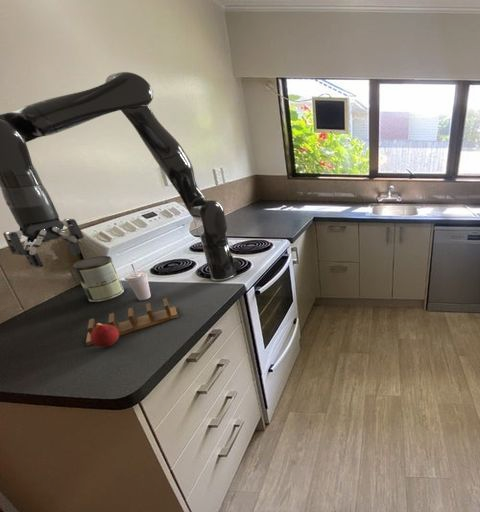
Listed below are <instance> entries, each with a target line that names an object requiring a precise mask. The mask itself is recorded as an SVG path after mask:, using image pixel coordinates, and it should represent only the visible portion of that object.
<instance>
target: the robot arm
mask: <svg viewBox="0 0 480 512" xmlns="http://www.w3.org/2000/svg"><path fill="white" fill-rule="evenodd" d="M153 99H154V91H153V88H152V86H151V84H150V83H149V81H147V80H146V79H145V78H144V77H142V76H141V75H140V74H137V73H134V72H130V71H120V72H115V73H112V74H109V75H108V76H107V77H106V78H105V82H104V83H102V84H100V85H98V86H95V87H91V88H89V89H85V90H81V91H77V92H73V93H69V94H64V95H59V96H55V97H51V98H48V99H47V98H46V99H44V100H40V101H37V102H34V103H30V104H27V105H24V106H22V107H20V108H17V109H16V110H13V111H9V112H4V113H1V114H0V190H1V194H2V198H3V199H4V201H5V204H6V206H7V207H8V209H9V211H10V213H11V215H12V216H13V219H14V220H15V223H16V224H17V225H18V226H19V229H18V230H15V231H4V232H3V237H4V239H5V241H6V244H7V246H8V248H9V250H10V253H11V255H17V256H24V257H25V258H26V260H27V262H28V265H30V266H31V267H34V268H42V267H44V264H43V262H42V260H41V258H40V256H39V254H38V253H37V251H38V248H39V247H40V246H41V245H42V243H47V242H49V241H52V240H54V241H55V240H59V239H60V240H62V241H64V242H66V243H65V244H66V247H67V248H68V250H69V252H70V254H71V255H72V256H80V255H81V249H80V246H79V244H78V241H80V240H81V239H84V234H83V232H82V231H81V228H80V227H79V224H78V222H77V220H76V219H74V218H64V219H63V220H60V216H59V213H58V211H57V209H56V206H55V205H54V202H53V201H52V198H51V196H50V194H49V192H48V190H47V189H46V187H45V185H44V184H43V182H42V179H41V177H40V175H39V173H38V171H37V169H36V167H35V165H34V164H33V161H32V157H31V155H30V150H29V148H28V145H27V143H29V142H32V141H33V140H36V139H40V138H42V137H49V136H52V135H55V134H58V133H61V132H63V131H67V130H69V129H73V128H74V127H77V126H79V125H82V124H85V123H87V122H90V121H92V120H95V119H98V118H100V117H102V116H105V115H108V114H111V113H114V112H115V113H116V112H119V111H121V113H122V114H123V116H125V118H126V119H127V120H128V121H129V122H130V124H131V125H132V126H133V128H134V129H135V131H136V132H137V134H138V135H139V137H140V139H141V140H142V142H143V143H144V145H145V147H146V148H147V150H148V151H149V152H150V154H151V156H152V157H153V160H155V162H156V164H157V165H158V166H159V168H160V169H161V171H162V172H163V173H164V174H165V176H166V178H167V179H168V180H169V182H170V183H171V185H172V186H173V187H174V189H175V190H176V192H177V193H178V195H179V196H180V199H181V200H182V203H183V204H184V206H185V207H186V210H187V211H188V213H189V215H190V216H191V218H192V219H194V220H195V221H198V222H200V223H201V224H202V228H203V231H202V232H201V233H199V238H200V241H201V245H202V249H203V253H204V257H205V260H206V261H205V262H206V264H207V268H208V272H209V275H210V279H211V281H212V282H224V281H227V280H231V279H233V278H234V277H237V276H238V274H237V271H238V270H239V269H240V268H241V266H242V265H241V262H239V260H238V259H237V258H236V257H234V256H233V254H232V253H231V249H230V244H229V239H228V235H227V232H228V224H227V219H226V213H225V210H224V207H223V205H222V204H221V203H220V202H219V201H217V200H216V199H215V200H214V199H208V198H207V197H206V196H204V195H205V194H203V193H202V191H201V190H200V188H199V186H198V184H197V181H196V177H195V171H194V168H193V164H192V162H191V160H190V159H189V156H188V155H187V153H186V151H185V150H184V148H183V146H182V145H181V144H180V143H179V142H178V141H177V139H176V138H175V136H173V135H172V133H170V132H169V131H168V130H167V129H166V128H165V127H164V126H163V125H162V123H161V122H160V121H159V120H158V118H157V117H156V115H155V114H154V112H153V110H152V109H151V106H150V104H151V103H152V102H153ZM64 227H66V228H67V230H68V231H69V233H70V234H69V233H68V232H66V231H64V230H63V229H64ZM22 236H24V237H26V238H25V240H24V243H22V241H21V239H22ZM23 244H24V246H23Z"/></svg>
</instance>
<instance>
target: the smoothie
mask: <svg viewBox="0 0 480 512" xmlns="http://www.w3.org/2000/svg"><path fill="white" fill-rule="evenodd" d="M131 267H132V270H133V272H130V273H128V274H126V275H125V276H124V280H125V281H127V283H128V285H129V287H131V290H132V291H133V293H134V295H135V296H136V299H138V301H145V300H149V299H150V298H151V297H152V294H151V291H150V290H151V289H150V284H149V278H148V271H146V270H139V271H137V269H136V268H135V265H134V263H131Z"/></svg>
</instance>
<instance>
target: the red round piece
mask: <svg viewBox="0 0 480 512" xmlns="http://www.w3.org/2000/svg"><path fill="white" fill-rule="evenodd" d="M96 325H97V327H96V328H95V329H94V330H93V331H92V333H91V335H90V339H91V342H92V343H93V344H92V345H94V346H96V347H101V348H110V347H112V346H113V345H114V344H115V343H117V341H118V339H119V337H120V336H119V331H118V329H117V328H116V327H114V326H112V325H109V323H108V324H107V323H100V322H98V323H97V322H96Z"/></svg>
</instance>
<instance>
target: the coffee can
mask: <svg viewBox="0 0 480 512" xmlns="http://www.w3.org/2000/svg"><path fill="white" fill-rule="evenodd" d="M71 267H72V268H73V270H74V272H75V274H76V276H77V279H78V281H79V282H80V284H81V287H82V288H83V290H84V293H85V295H86V297H87V300H88V301H89V302H91V303H96V302H97V303H98V302H99V303H100V302H105V301H108V300H112V299H114V298H117V297H119V296H121V295H122V294H123V293H124V292H125V288H124V287H123V285H122V282H121V280H120V277H119V275H118V272H117V270H116V268H115V265H114V263H113V260H112V257H111V256H109V255H99V256H93V257H88V258H84V259H80V260H79V261H76V262H74V263H73V264H72V265H71Z"/></svg>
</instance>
